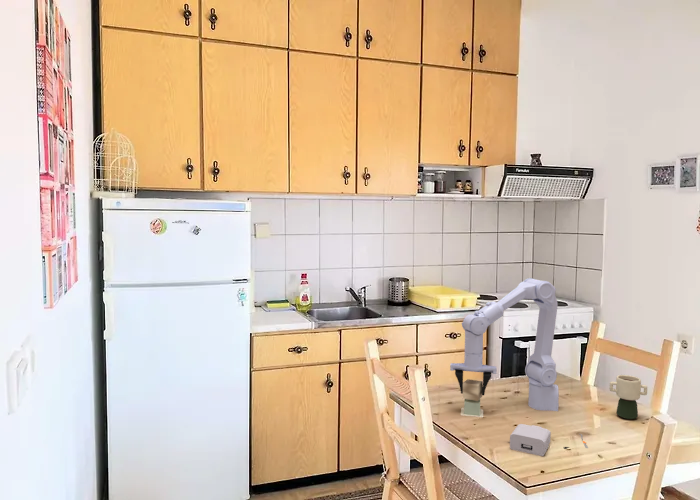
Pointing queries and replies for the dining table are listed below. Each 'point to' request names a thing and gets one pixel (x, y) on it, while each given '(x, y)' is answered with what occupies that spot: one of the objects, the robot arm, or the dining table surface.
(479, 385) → the maple block
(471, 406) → the sage base block
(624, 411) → the trophy cup
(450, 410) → the dining table surface
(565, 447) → the key chain
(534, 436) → the charger
